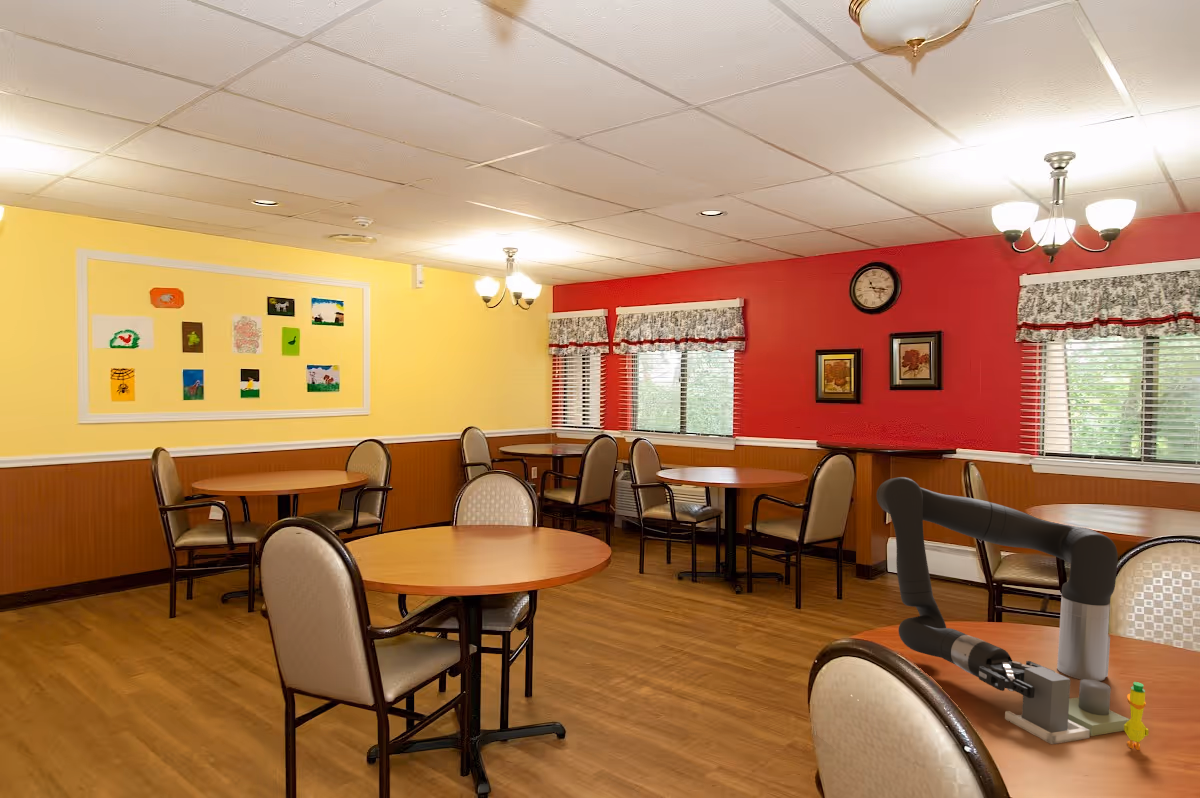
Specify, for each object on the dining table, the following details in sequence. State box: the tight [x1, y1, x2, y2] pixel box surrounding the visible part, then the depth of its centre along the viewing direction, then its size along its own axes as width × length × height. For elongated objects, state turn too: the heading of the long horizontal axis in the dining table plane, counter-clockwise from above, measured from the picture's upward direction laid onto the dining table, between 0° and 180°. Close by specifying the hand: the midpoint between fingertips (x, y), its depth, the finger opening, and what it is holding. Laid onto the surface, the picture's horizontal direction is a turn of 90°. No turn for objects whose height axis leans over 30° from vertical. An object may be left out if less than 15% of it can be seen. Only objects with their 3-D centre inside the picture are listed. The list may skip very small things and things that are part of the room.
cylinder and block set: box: [1004, 679, 1131, 745], centre depth 140 cm, size 21×10×7 cm, turn 109°
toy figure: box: [1124, 681, 1150, 751], centre depth 132 cm, size 7×4×12 cm, turn 153°
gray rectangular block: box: [1021, 666, 1071, 733], centre depth 139 cm, size 4×6×10 cm
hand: (1050, 690), depth 138 cm, fingers open, 8 cm apart
